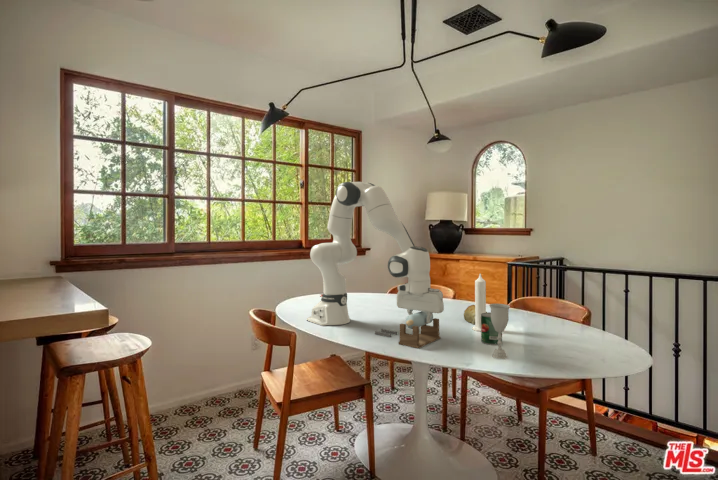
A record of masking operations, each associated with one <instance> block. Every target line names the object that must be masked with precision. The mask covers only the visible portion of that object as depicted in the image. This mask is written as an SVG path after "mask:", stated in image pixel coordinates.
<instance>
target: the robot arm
mask: <svg viewBox="0 0 718 480" xmlns="http://www.w3.org/2000/svg"><path fill="white" fill-rule="evenodd" d="M357 207H364V209H365V211H366V213H367V217H368V219H369V222H370V224H371V225H372V226H373V228H375V229H376V230H378V231H380V232H383V233H386V234H388V235H390V236H392V238H393V239H394V240H395V241H396V243H397V245H398V247H399V249H400V251H401V252H400V253H397V254H395V255H392V256H391V257H390V258H389V259H388V262H387V270H388V272H389V274H390V275H391V276H392V277H394V278H397V279H398V278H400V279H401V278H407V282H405V283H403V284H399V285H397V291H398V292H397V293H396V306H397V307H398V308H399V309H404V310H407V311H406V312H407V314H408V316H409V315H412V314H414V313H413V312H414V311H417V312H421V311H424V312H427V315H428V316H427V318H425V323H428V324H430V318H431V316H432V314H433V315H434V314H441V313H443V312H444V311H445V310H444V309H445V307H444V306H445V305H444V300H443V299H444V293H443V291H442V290H440V289H439V288H432V287H431V276H430V271H431V258H430V253H429V250H428V249H427V248H425V247H422V246H416V245H415V243H414V242H413V240H412V237H411V236H410V234H409V233H408V230H407V228H406V226H405V225H404V223H403V222H402V221H401V219H400V218H399V217H398V216H397V213H396V211H394V208H393V205H392V203H391V201H390V199H389V197H388V195H387V193H386V192H385V190H384V189H383V188H382V187H381V186H380V185H376V184H373V183H370V182H365V181H345V182H342V183H340V184H338V186H337V188H336V189H335V195H334V197H333V200H332V203H331V206H330V211H329V214H328V215H329V216H328V222H327V227H326V228H327V231H328V232H329V234H331V236H332V238H333V240H332V242H321V243H319V244H315V245H313V246H312V247H311V249H310V252H309V256H310V257H309V258H310V260H311V262H312V263H313V264H314V265H315V266H316V267H317V268H318V269H319V271H320V274H321V277H322V285H323V293H321V294H320V295H319V298H320V297H321V299H320V301H319V302H318V303H316V304H315V305H314V306H313V307H312V309H311V316H309V317H307V318H306V321H307V320H308V322H311V323H314V324H316V325H318V326H323V327H324V326H339V325H341V326H342V325H346V324H348V323H350V322H351V320H350V316H349V310H348V293H347V279H346V278H347V277H346V276H345V275H344V274H343V273H342V272H340V270H339V268H338V265H347V264H349V263H351V262H353V261H355V260H356V259H357V255H358V250H357V247H356V246H355V244H354V243H353V242H352V239H351V229H352V224H353V217H354V212H355V209H356V208H357Z"/></svg>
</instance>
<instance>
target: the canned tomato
mask: <svg viewBox="0 0 718 480" xmlns="http://www.w3.org/2000/svg"><path fill="white" fill-rule="evenodd" d="M480 337H481V338H480V341H481V343H482V344H484V345H491V346H498V343H497V342H498V338H497V337H498V332H497V331H496V330H495V328H494V326H493V324H492V321H491V311H490V312H488V311H487V313H482V314H481V332H480ZM501 337H502V339H501V342H502V343H503V332H501Z"/></svg>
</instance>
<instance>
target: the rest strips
mask: <svg viewBox="0 0 718 480" xmlns="http://www.w3.org/2000/svg"><path fill="white" fill-rule="evenodd" d="M374 335H377V336H383V337H387V338H391V337H392V335H394V336H396V335H398V331H396V330H390V329H384V328H381V330H380V331H379V330H376V331H374Z"/></svg>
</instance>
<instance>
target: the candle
mask: <svg viewBox="0 0 718 480" xmlns="http://www.w3.org/2000/svg"><path fill="white" fill-rule="evenodd" d="M486 284H487V282H486V280H485V279H484V278H483V277H482V273H479V275H478V278H477V279H475V280H474V303H475V304H474V305H475V325H473V327H472V331H475V332H480V333H481V314H482V313H486V312H487V301H486V300H487V298H486V297H487V296H486V295H487V287H486V286H487V285H486Z"/></svg>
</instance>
